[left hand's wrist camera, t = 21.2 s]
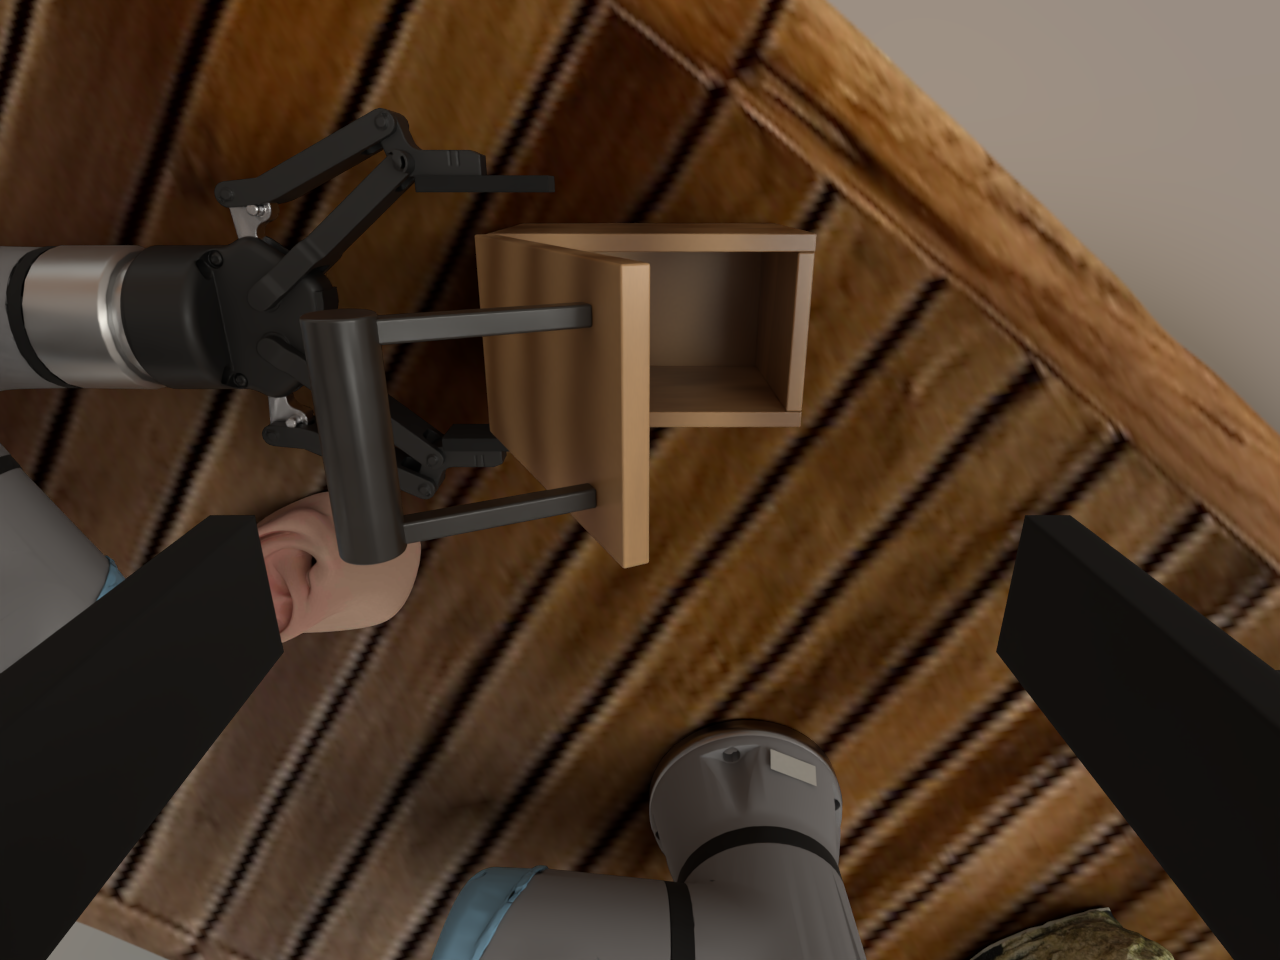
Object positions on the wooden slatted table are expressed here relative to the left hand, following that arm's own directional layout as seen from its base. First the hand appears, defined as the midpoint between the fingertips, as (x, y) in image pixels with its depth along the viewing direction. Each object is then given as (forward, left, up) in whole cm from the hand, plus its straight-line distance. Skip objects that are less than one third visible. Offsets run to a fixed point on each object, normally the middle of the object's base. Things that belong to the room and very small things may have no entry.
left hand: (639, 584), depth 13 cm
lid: (-2, +3, -16) cm, 17 cm away
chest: (0, 0, -35) cm, 35 cm away
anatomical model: (-27, +9, -35) cm, 45 cm away
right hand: (-2, +4, -29) cm, 29 cm away
